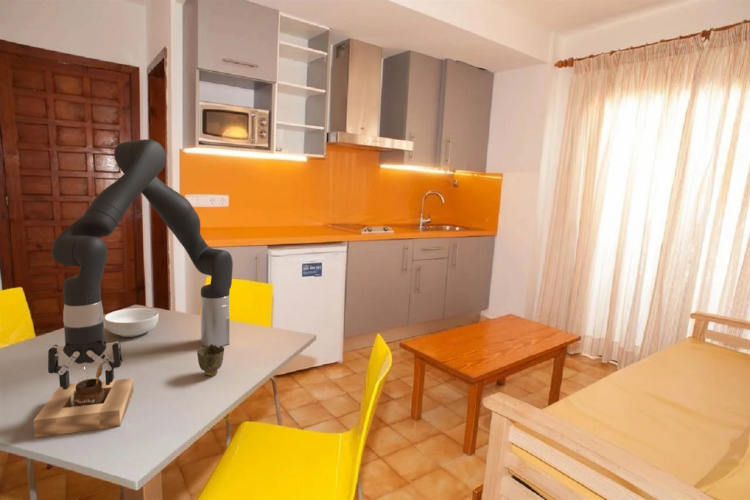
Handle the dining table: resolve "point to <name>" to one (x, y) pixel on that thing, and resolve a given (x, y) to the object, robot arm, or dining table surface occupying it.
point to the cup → (210, 359)
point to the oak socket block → (84, 410)
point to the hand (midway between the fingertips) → (87, 385)
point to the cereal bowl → (131, 321)
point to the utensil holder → (89, 390)
